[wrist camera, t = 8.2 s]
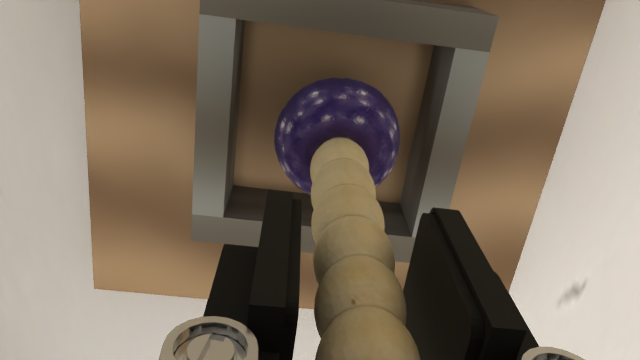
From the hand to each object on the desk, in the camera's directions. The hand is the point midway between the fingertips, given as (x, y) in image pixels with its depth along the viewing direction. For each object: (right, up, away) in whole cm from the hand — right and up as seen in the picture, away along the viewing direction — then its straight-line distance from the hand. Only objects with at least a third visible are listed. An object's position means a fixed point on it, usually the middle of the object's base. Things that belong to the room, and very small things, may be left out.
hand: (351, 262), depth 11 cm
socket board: (0, +5, +12) cm, 13 cm away
